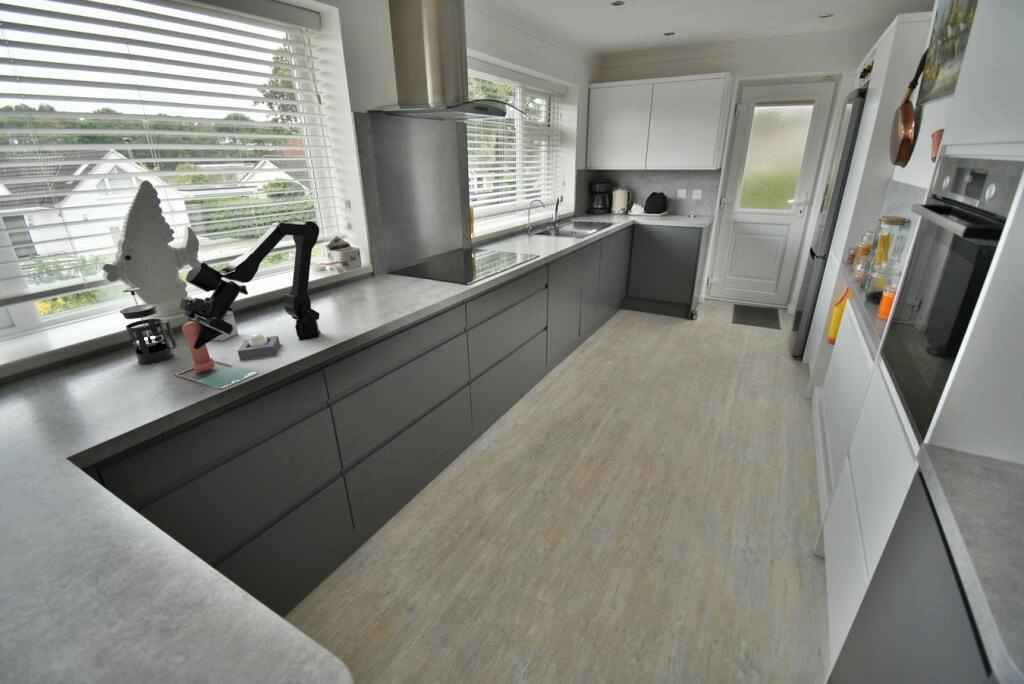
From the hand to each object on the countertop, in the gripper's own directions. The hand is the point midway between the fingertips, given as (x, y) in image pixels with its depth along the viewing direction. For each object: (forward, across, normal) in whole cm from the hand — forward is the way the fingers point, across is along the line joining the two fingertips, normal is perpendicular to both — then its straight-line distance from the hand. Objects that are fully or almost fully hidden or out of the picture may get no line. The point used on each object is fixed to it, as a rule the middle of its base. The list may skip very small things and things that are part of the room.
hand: (192, 347), depth 131 cm
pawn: (+4, 0, +6) cm, 7 cm away
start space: (+5, 0, +7) cm, 8 cm away
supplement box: (-6, -27, +18) cm, 33 cm away
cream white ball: (-8, -1, +18) cm, 19 cm away
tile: (+4, +11, +8) cm, 14 cm away
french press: (+8, -25, +4) cm, 26 cm away
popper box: (-7, -1, +19) cm, 20 cm away
